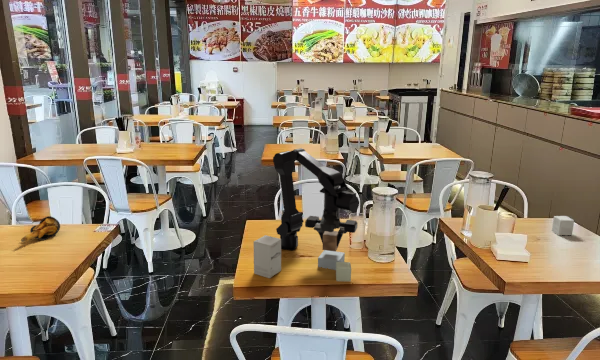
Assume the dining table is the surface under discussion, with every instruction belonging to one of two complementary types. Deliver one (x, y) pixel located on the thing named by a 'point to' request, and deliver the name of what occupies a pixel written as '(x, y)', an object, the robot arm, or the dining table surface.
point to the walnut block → (330, 241)
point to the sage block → (343, 271)
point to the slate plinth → (330, 259)
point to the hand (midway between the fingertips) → (330, 245)
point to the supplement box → (267, 256)
